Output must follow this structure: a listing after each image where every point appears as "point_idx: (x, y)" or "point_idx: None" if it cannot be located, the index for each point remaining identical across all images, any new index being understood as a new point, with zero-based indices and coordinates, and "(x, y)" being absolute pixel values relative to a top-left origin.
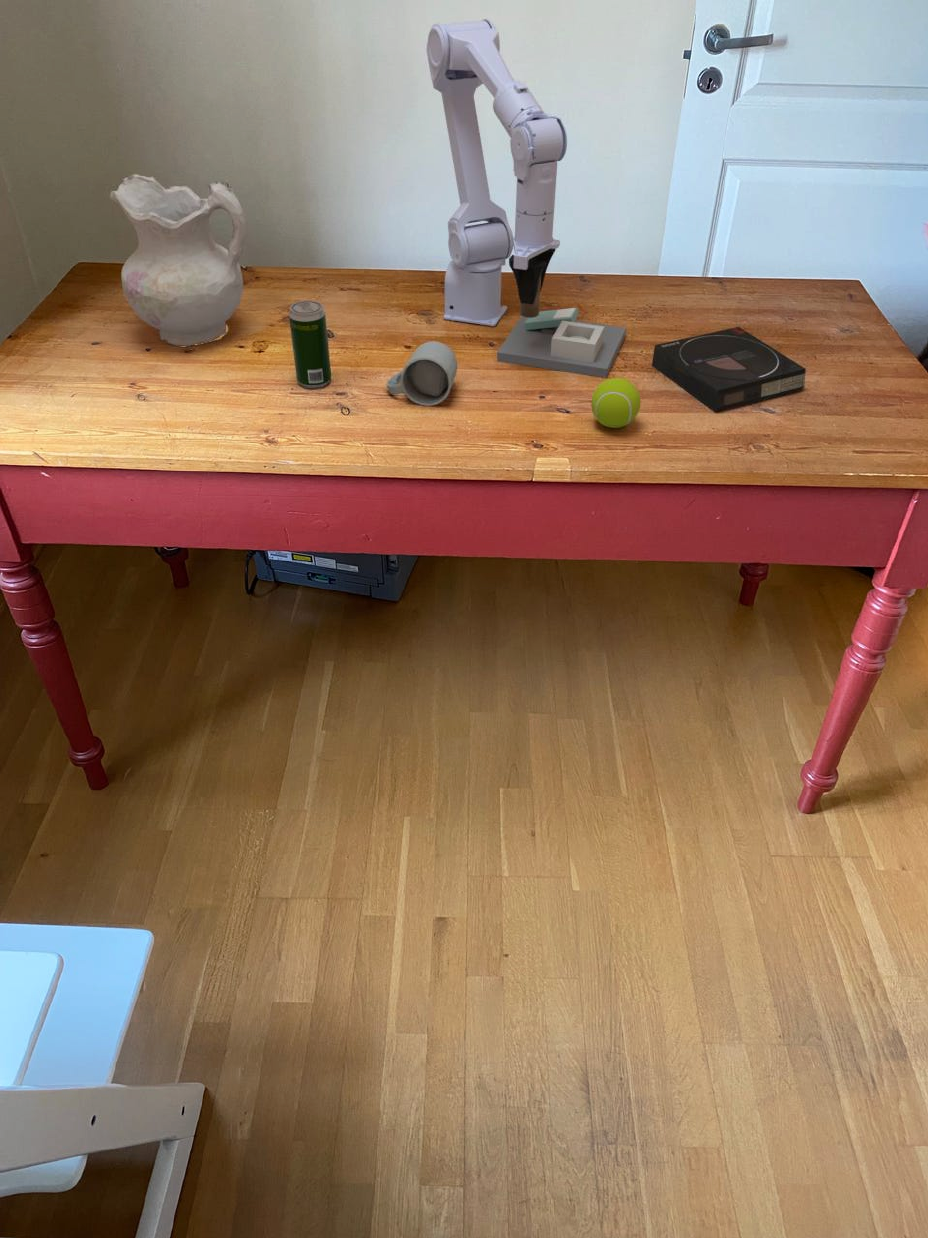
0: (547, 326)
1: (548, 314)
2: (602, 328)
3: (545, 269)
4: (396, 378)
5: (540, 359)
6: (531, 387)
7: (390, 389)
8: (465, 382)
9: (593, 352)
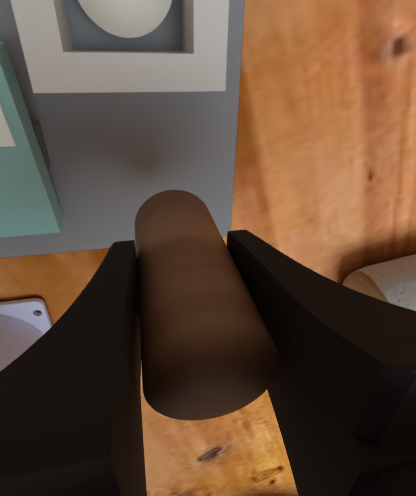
0: (41, 153)
1: None
2: None
3: (124, 319)
4: None
5: (237, 110)
6: (346, 95)
7: None
8: (334, 244)
9: None
